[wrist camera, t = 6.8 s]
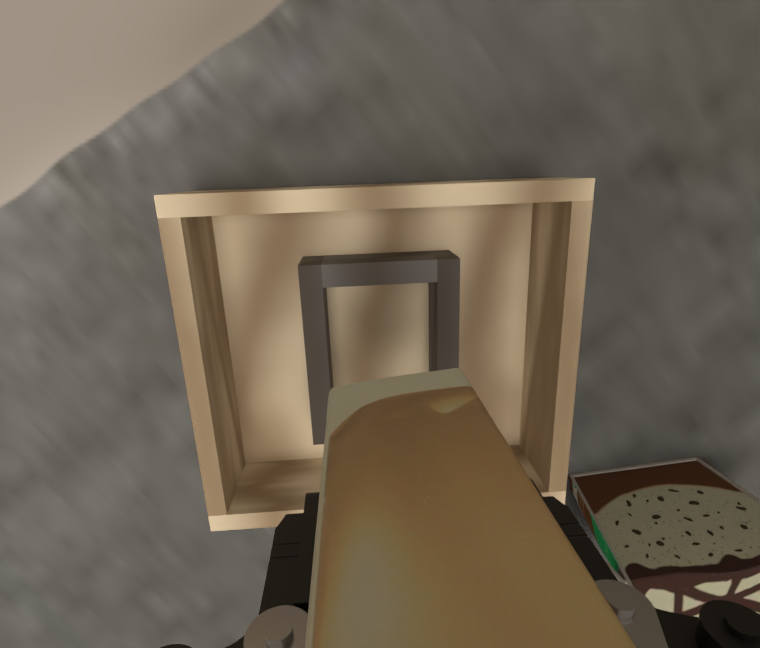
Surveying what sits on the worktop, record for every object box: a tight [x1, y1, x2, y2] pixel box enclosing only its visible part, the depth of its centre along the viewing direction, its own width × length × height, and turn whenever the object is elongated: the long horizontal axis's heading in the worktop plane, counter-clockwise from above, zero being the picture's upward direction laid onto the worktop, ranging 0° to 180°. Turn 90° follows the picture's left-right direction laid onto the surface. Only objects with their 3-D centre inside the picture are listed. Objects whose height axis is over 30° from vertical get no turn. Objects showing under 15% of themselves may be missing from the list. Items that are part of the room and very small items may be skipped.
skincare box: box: [305, 368, 636, 648], centre depth 10 cm, size 6×4×12 cm
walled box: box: [154, 177, 595, 531], centre depth 27 cm, size 20×18×6 cm
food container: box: [569, 457, 760, 617], centre depth 30 cm, size 12×6×10 cm, turn 97°
